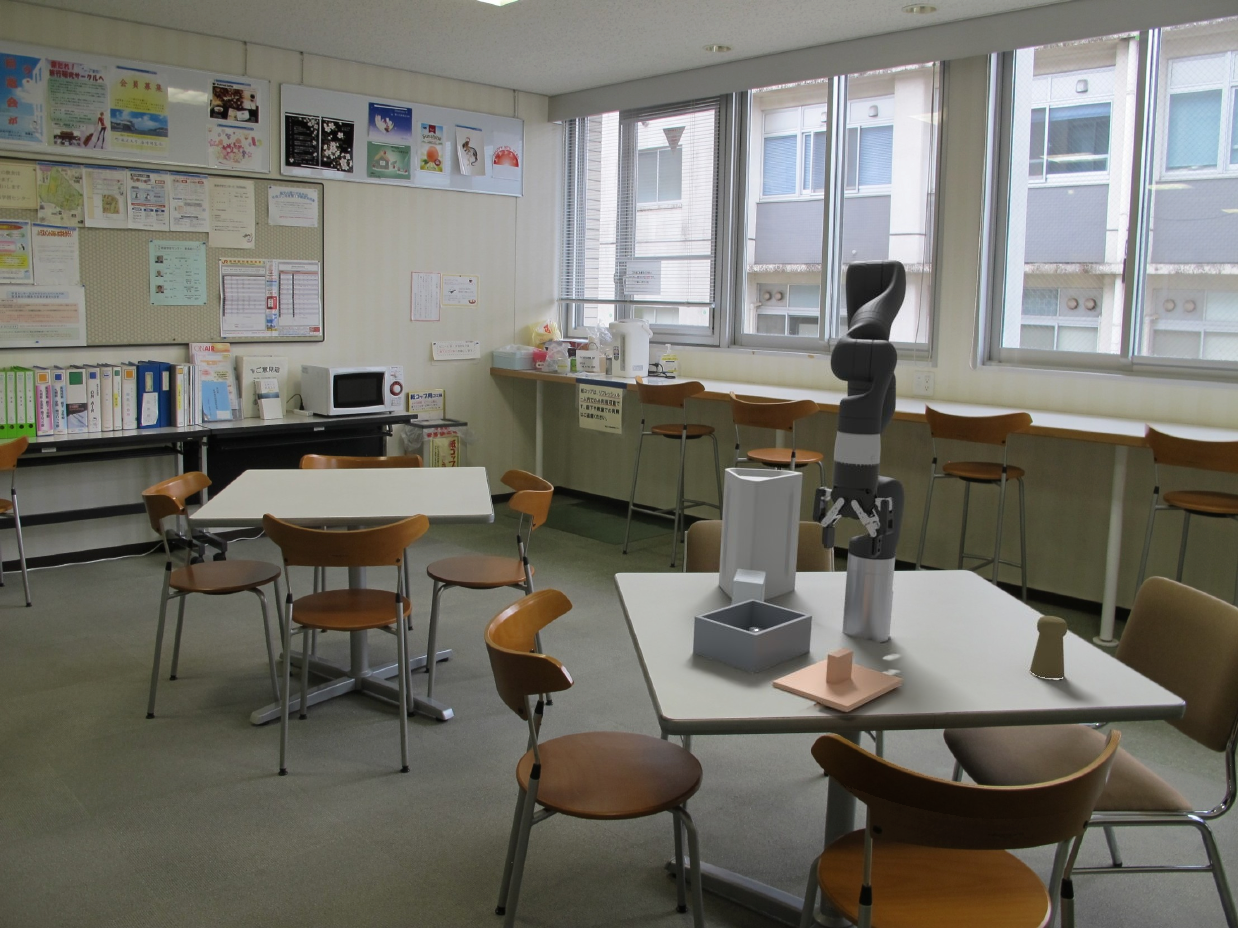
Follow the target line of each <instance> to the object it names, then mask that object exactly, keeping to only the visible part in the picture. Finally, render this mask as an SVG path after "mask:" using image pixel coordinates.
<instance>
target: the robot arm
mask: <svg viewBox="0 0 1238 928" xmlns="http://www.w3.org/2000/svg"><path fill="white" fill-rule="evenodd" d="M906 290H907V275H906V269H905V266H904V265H903V263H902V262H901V261H900V260H896V259H877V260H876V259H875V260H873V259H872V260H855V261H852V262H849V264H848V266H847V269H846V273H845V299H846V300H845V301H846V302H845V303H846V304H845V305H846V319H847V322H846V323H847V332H845V333H844V334H843V335H842V336H840V338H839V339H838V341H836V344H835V345H834V347H833V349H832V352H831V356H830V369H831V372H832V373H833V375H834V376H835V377H836V378H837V379H838V380H840V381H844V382H847V387H846V388H847V396H846V397H845V396H844V397H843V398H842V399H840V401H839V405H838V406H839V407H838V420H837V431H836V432H837V433H836V436H835V437H836V438H835V442H834V443H835V444H834V451H833V466H832V467H833V469H832V485H833V487H832V489H830V488H829V487H828V486H822V487H818V488H816V489H815V493H814V494H815V495H814V500H813V501H814V502H813V511H812V520H813V522H817V523H818V524H820V525H821V527H822V531H821V544H822V545H823V548H824V549H826V550H830V549H833V548H834V547H835V546H834V545H835V534H836V526H834V525H835V523H836V522H837V521H838V520H839V519H840V518H845V519H846V518H851V519H853V520H856V521H860V522H861V523H862V525H863V526H865V527H866V529H867V532H868V533H866V534H861V535H855V536H853V537H851V538H850V539H849V542H848V548H847V549H848V550H847V551H848V552H847V553H848V554H847V566H846V579H845V589H844V590H845V593H844V605H843V618H842V631H841V632H842V634H846V635H848V636H850V637H853V638H857V639H862V640H863V639H864V640H868V641H871V642H875V643H877V644H879V643H881V644H882V643H884V642H887V641H888V640H889V638H890V637H889V636H890V634H891V621H892V612H893V611H892V609H893V601H894V600H893V599H894V598H893V597H894V591H893V590H894V589H893V586H894V576H895V574H894V573H895V563H896V553H897V552H896V551H897V547H898V545H899V541H900V538H901V533H902V532H901V531H902V530H901V529H902V523H903V517H904V508H905V490H904V486H903V484H902V482H901V481H899V480H898V479H896V478H892V477H888V476H883V475H880V474H879V473H880V463H881V447H882V446H881V444H882V443H881V437H882V436H883V434H884V432H885V431H886V429H887V428H888V426H889V425H890V423H891V421H892V419H893V417H894V414H895V412H896V404H897V403H896V402H897V401H896V400H897V377H896V375H895V370H896V367H897V364H898V352H897V350H896V347H895V346H894V344H893V343H892V342H891V341H890V337H891V336H890V335H891V328H892V325H893V323H894V321H895V319H896V317H897V316H898V314H899V312H900V309H901V307H902V305H903V304H904V300H905V297H906ZM830 499H831V500H832V503H833V504H834V505H833V506H832V507H831V508H830V509H829V510H828V503H829V500H830Z"/></svg>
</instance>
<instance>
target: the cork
mask: <svg viewBox="0 0 1238 928" xmlns="http://www.w3.org/2000/svg"><path fill="white" fill-rule="evenodd" d="M1036 630H1037V631H1038V638H1037V641H1036V644H1035V649H1034V652H1033V653H1034V654H1033V656H1032V661H1031V665H1030V669H1029V672H1030V671H1031V672H1032V673H1034V674H1035V675H1037V676H1040V677H1045V678H1062V677H1064V678H1065V657H1064V656H1065V655H1064V636H1066V635H1067V633H1068V624H1067V621H1066V620H1065V619H1063V618H1061V617H1058V616H1054V615H1044V616H1041V617H1040V618H1039V619H1038V620H1037V623H1036Z"/></svg>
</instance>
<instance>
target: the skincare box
mask: <svg viewBox="0 0 1238 928" xmlns="http://www.w3.org/2000/svg"><path fill="white" fill-rule="evenodd" d="M765 578H766V572H763V571H755V570H746V569H737V572H736V575H735V578H734V580H733V589H732V599H731V604H730V606H731V605H734V604H737V603H741V602H744V601H747V600H751V599H754V600H758V601H761V602H765V600H764V594H765Z"/></svg>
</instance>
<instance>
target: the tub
mask: <svg viewBox="0 0 1238 928" xmlns="http://www.w3.org/2000/svg"><path fill="white" fill-rule="evenodd" d="M812 622H813V615H811V614H808V613H804V612H801V611H797V610H794V609H790V608H786V607H782V606H779V605H775V604H772V603H769V602H765V601H764V602H761V601H758V600H754V599H751V600H747V601H744V602H741V603H737V604H734V605H731V604H730V605H728V606H724V607H722V608H718V609H715V610H712V611H708V612H706V613H703V614H699V615H695V616H694V623H693V624H694V625H693V644H692V645H693V646H692V647H693V648H692V653H693V654H695V655H698V656H702V657H704V658H708V659H711V660H714V661H716V662H719V663H722V664H724V665H728V666H731V667H734V668H736V669H739V670H743V671H746V672H748V673H751V674H755V673H758V672H761V671H763V670H766V669H768V668H771V667H773V666H776V665H778V664H781V663H783V662H786V661H789V660H791V659H794V658H796V657H798V656H801V655H804V654H805V653H808V652H810V651H811V637H812ZM751 627H759V628H763V629H764V630H763V631H760V632H757V633H753V632H749V628H751Z"/></svg>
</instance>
